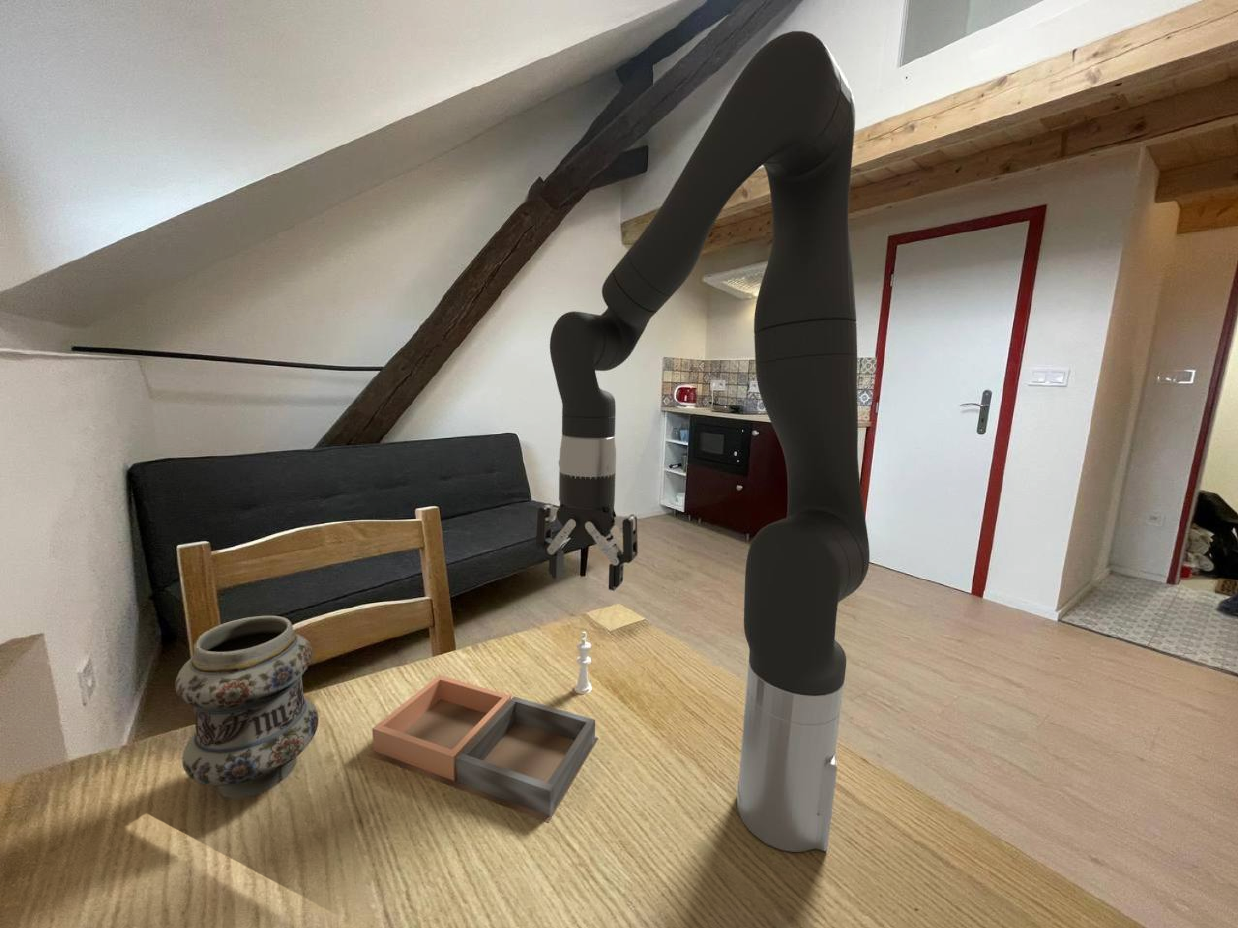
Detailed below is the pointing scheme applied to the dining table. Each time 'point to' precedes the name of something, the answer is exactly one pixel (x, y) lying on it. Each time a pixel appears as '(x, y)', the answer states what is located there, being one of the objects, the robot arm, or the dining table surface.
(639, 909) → the dining table surface
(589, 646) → the chess piece
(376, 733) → the orange square tray
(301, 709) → the apothecary jar
